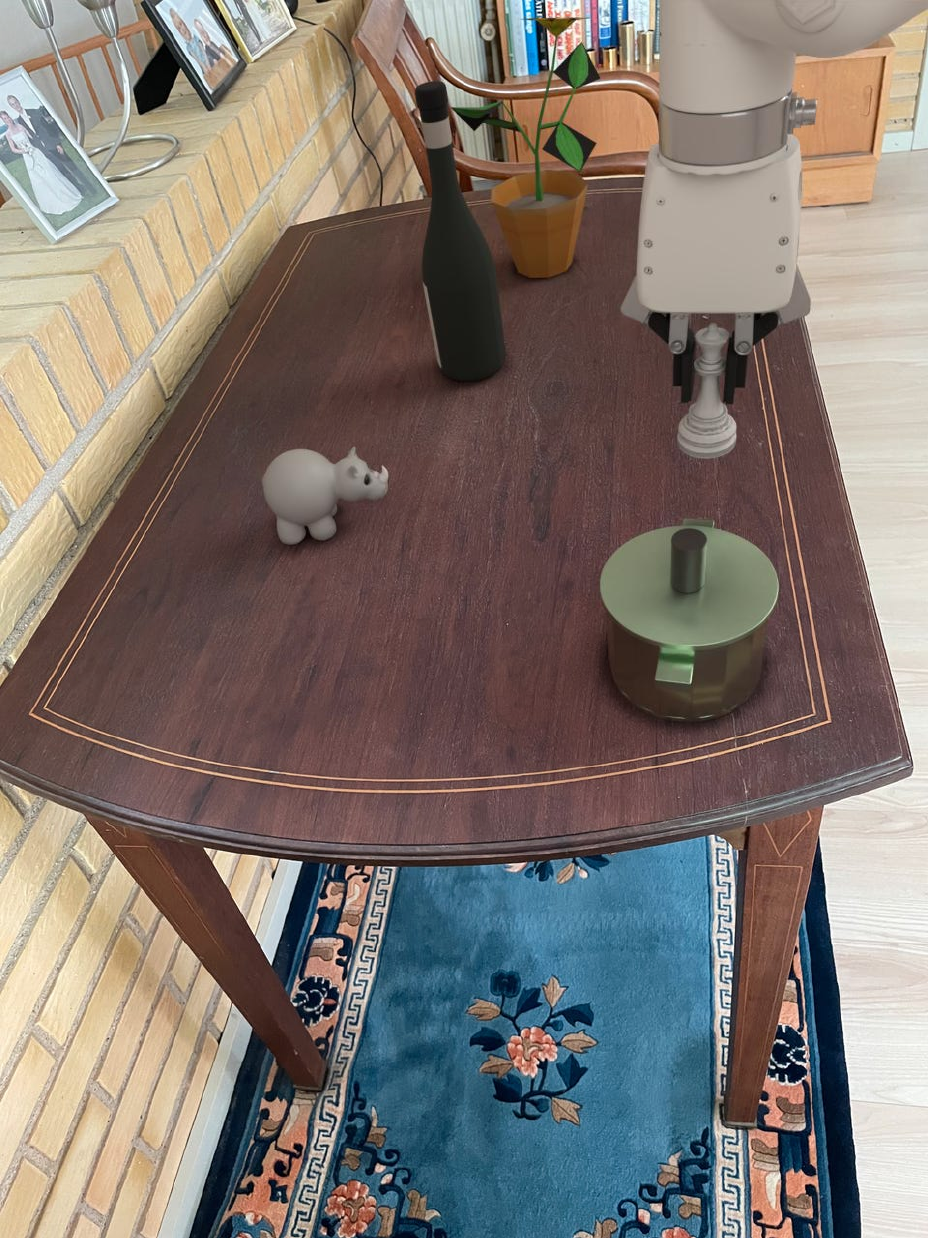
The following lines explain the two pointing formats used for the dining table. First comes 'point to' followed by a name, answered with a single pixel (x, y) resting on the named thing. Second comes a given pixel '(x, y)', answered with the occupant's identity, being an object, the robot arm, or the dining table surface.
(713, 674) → the pot
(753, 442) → the dining table surface
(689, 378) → the robot arm
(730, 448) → the chess piece
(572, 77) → the potted plant
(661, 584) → the pot lid
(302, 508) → the toy rhinoceros
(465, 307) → the wine bottle
